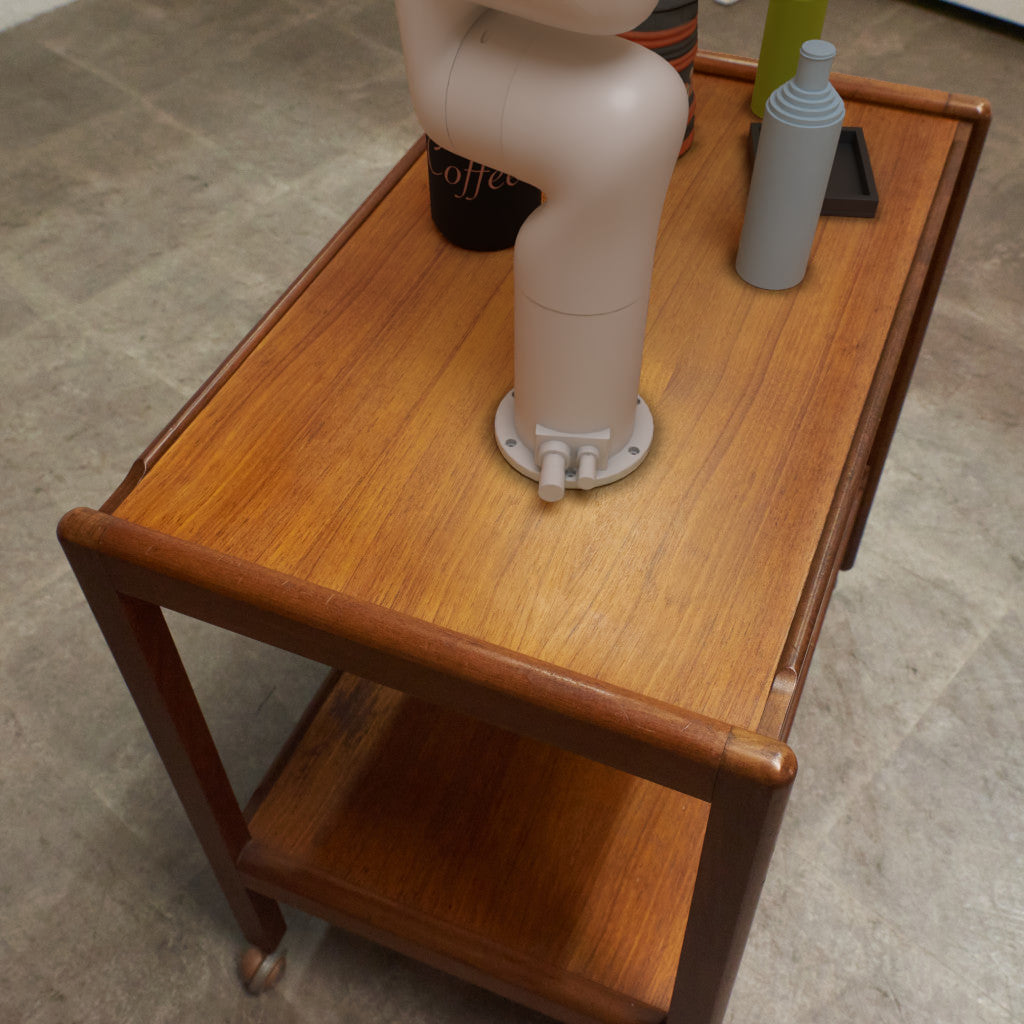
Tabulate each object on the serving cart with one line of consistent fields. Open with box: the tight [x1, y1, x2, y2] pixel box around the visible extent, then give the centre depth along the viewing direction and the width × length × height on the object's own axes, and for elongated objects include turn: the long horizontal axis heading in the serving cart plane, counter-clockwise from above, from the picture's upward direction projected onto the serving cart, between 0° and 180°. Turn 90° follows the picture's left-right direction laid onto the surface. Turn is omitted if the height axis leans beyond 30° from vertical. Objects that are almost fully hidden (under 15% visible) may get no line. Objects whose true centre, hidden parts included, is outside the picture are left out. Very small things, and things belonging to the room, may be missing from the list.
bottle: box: [734, 39, 846, 291], centre depth 91 cm, size 6×6×21 cm
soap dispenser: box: [750, 0, 830, 120], centre depth 111 cm, size 6×7×20 cm
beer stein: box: [615, 0, 699, 160], centre depth 107 cm, size 19×15×20 cm
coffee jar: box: [425, 133, 543, 253], centre depth 97 cm, size 11×11×18 cm
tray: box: [747, 121, 880, 219], centre depth 108 cm, size 14×12×2 cm
